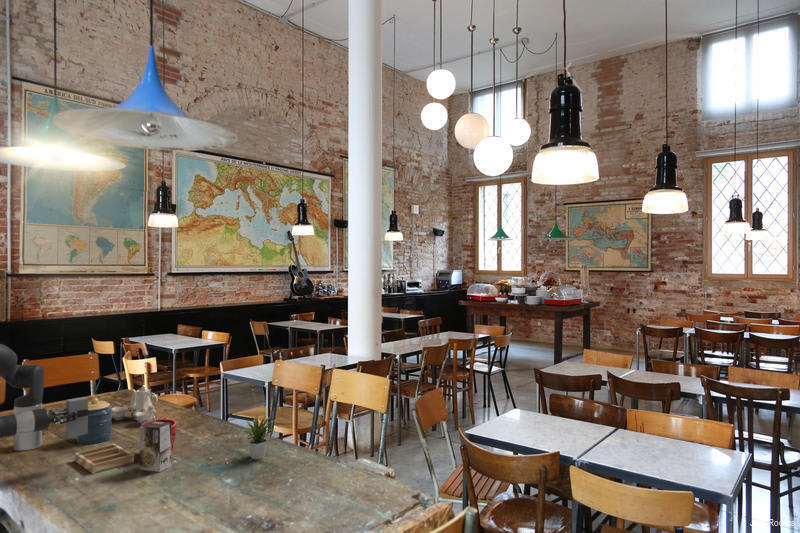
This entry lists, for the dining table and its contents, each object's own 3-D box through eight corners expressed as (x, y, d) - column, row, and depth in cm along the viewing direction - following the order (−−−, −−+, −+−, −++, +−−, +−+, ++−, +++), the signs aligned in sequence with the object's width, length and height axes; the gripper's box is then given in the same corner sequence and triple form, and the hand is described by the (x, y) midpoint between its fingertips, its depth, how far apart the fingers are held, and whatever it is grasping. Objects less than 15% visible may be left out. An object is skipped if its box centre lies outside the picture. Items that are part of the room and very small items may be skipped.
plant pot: (132, 456, 198) (132, 425, 198) (161, 446, 210) (162, 416, 210) (154, 462, 192) (154, 430, 192) (183, 451, 204) (184, 421, 204)
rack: (74, 461, 193) (74, 453, 193) (114, 451, 204) (114, 443, 204) (93, 473, 182) (93, 465, 182) (134, 462, 192) (134, 454, 192)
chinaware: (101, 425, 242) (98, 390, 241) (129, 411, 258) (127, 379, 256) (148, 431, 234) (145, 396, 232) (175, 417, 249) (172, 384, 248)
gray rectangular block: (65, 435, 186) (66, 400, 186) (84, 431, 191) (84, 396, 191) (69, 437, 184) (69, 401, 184) (87, 433, 189) (88, 398, 189)
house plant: (265, 466, 189) (266, 422, 189) (231, 463, 192) (232, 420, 192) (282, 453, 203) (282, 411, 203) (250, 450, 206) (250, 409, 206)
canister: (118, 435, 223) (118, 394, 223) (98, 445, 210) (98, 402, 210) (90, 433, 224) (91, 393, 224) (68, 444, 212) (69, 401, 212)
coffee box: (172, 465, 189) (172, 422, 189) (159, 472, 183) (160, 427, 183) (151, 463, 192) (152, 420, 192) (138, 469, 186) (139, 425, 186)
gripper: (36, 414, 172) (93, 404, 185) (24, 406, 181) (79, 397, 194) (36, 437, 172) (93, 425, 185) (24, 428, 181) (79, 417, 194)
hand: (85, 411), depth 190 cm, fingers closed on gray rectangular block, 3 cm apart
